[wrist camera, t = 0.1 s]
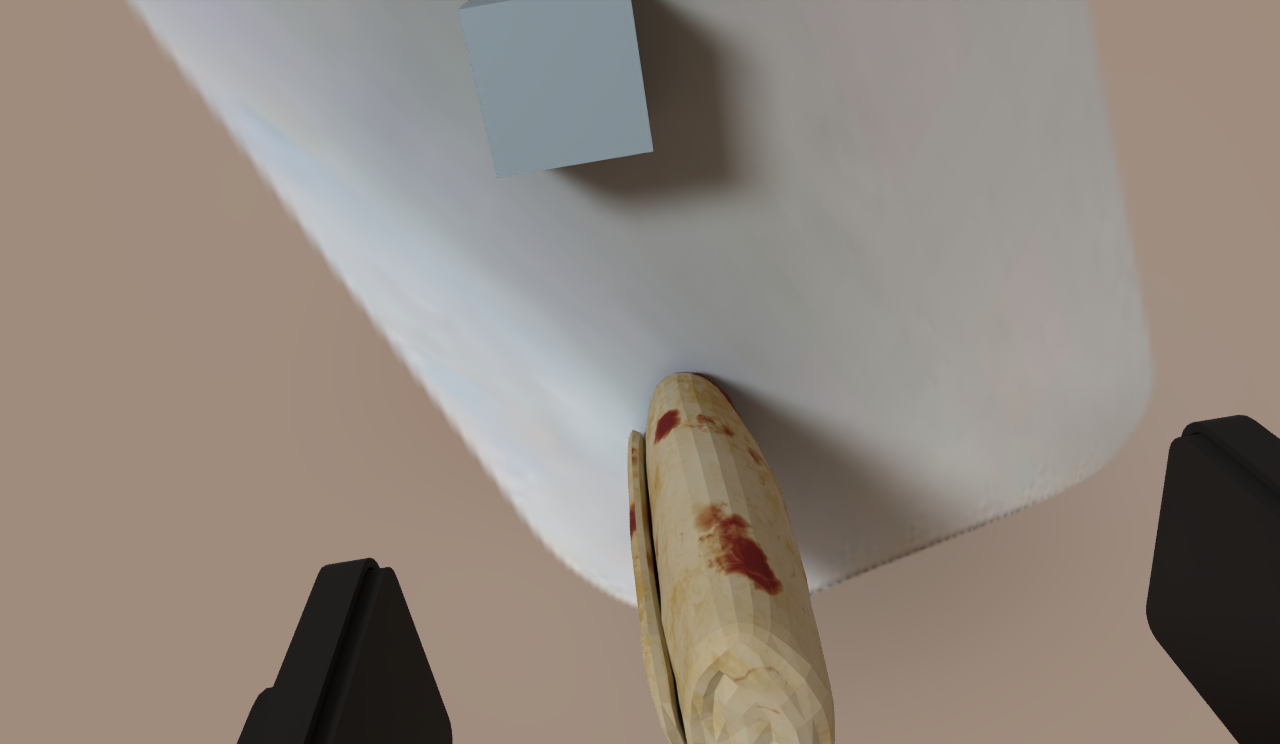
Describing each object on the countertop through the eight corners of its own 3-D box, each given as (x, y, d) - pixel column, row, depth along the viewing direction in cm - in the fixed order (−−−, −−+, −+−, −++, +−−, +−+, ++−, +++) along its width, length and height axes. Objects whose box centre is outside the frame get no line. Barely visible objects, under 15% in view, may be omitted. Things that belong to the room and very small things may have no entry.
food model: (772, 482, 48) (884, 817, 30) (655, 515, 48) (697, 863, 31) (728, 327, 43) (830, 615, 26) (599, 365, 44) (612, 673, 26)
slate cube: (475, -6, 36) (457, 9, 30) (620, -31, 36) (628, -21, 30) (508, 140, 39) (497, 178, 33) (643, 118, 39) (653, 151, 33)
